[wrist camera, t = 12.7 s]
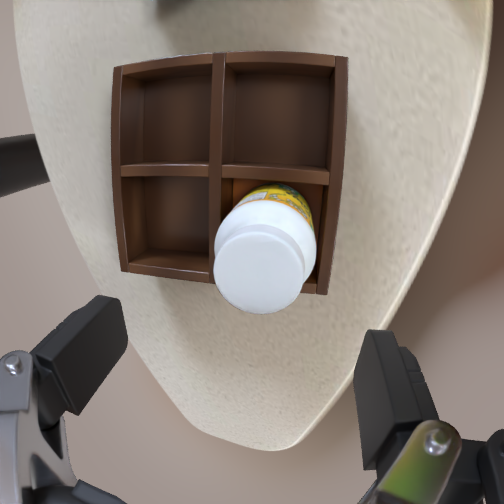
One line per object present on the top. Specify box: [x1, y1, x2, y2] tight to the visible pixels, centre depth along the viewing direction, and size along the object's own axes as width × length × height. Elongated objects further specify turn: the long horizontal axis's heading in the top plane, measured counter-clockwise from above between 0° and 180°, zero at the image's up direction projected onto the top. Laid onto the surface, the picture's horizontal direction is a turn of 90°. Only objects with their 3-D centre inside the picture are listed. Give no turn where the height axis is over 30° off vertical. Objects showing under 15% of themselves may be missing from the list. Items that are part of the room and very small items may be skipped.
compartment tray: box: [111, 51, 348, 295], centre depth 20 cm, size 15×15×4 cm
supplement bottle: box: [213, 183, 316, 314], centre depth 17 cm, size 5×5×10 cm
